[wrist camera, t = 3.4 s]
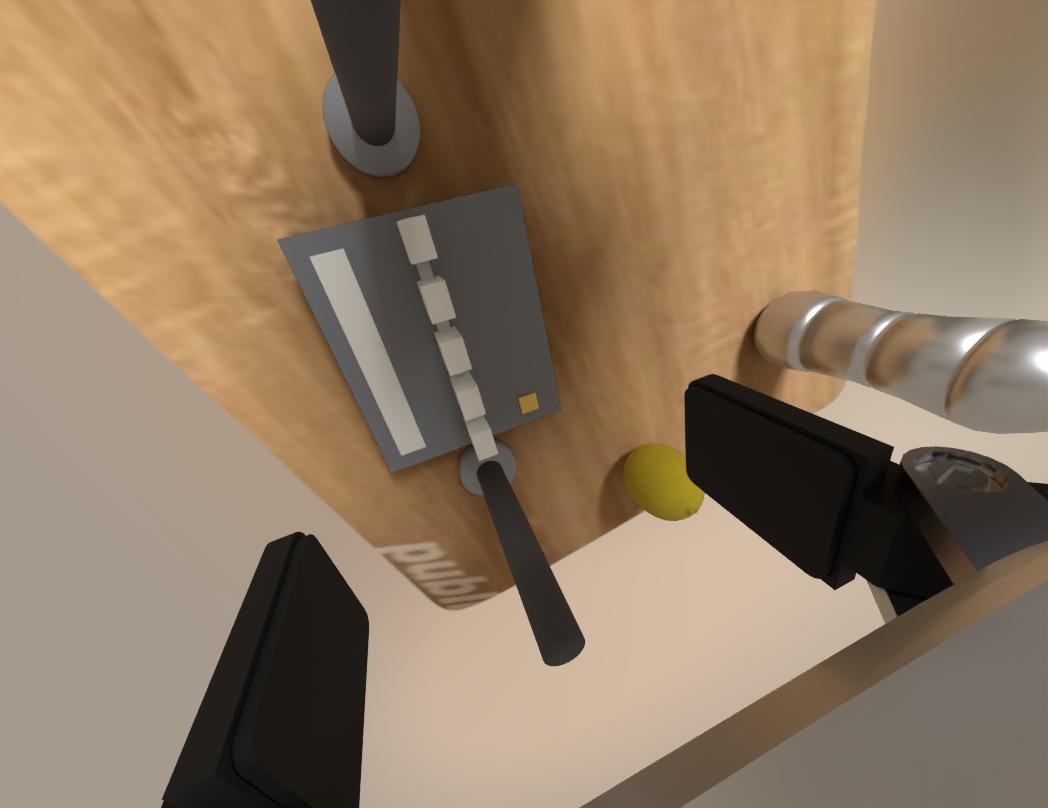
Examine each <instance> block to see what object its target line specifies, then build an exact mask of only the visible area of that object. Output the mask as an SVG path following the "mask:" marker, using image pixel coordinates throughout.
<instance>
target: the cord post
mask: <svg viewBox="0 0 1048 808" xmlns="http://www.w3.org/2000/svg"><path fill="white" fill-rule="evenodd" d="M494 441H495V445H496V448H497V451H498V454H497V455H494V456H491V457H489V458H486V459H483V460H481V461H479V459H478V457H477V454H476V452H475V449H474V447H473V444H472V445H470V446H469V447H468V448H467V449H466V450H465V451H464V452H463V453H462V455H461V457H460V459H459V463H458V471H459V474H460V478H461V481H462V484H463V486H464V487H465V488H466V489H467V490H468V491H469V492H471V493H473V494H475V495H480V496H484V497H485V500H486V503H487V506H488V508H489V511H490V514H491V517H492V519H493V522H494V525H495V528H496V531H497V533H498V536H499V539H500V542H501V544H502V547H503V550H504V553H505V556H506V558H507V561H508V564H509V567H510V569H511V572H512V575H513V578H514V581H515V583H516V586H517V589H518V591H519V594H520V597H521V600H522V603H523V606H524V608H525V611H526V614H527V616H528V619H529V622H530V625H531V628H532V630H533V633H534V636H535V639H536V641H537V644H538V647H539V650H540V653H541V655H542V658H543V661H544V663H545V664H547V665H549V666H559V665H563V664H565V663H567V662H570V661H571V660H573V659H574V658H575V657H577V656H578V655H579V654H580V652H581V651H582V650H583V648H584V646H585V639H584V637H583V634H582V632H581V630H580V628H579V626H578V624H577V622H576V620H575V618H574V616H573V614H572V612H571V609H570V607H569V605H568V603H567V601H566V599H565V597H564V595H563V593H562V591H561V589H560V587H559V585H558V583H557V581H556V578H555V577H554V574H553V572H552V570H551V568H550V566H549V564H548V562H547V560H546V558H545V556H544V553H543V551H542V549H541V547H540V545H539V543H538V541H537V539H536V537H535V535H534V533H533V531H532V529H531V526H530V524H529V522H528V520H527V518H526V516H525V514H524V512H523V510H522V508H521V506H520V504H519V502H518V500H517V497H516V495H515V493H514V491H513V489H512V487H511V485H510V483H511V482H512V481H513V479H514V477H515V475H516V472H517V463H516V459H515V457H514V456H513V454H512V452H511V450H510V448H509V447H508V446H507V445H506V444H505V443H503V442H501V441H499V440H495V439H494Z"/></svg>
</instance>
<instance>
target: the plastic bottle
mask: <svg viewBox="0 0 1048 808" xmlns="http://www.w3.org/2000/svg"><path fill="white" fill-rule="evenodd" d="M754 343H755V346H756V348H757V350H758V352H759V353H760V355H761V356H762V357H763V358H764V359H766V360H768V361H770V362H771V363H773V364H775V365H777V366H779V367H782V368H787V369H792V370H797V371H806V372H815V373H819V374H823V375H827V376H832V377H836V378H840V379H844V380H849V381H853V382H856V383H859V384H862V385H865V386H868V387H872V388H874V389H876V390H878V391H881V392H884V393H887V394H889V395H892V396H895V397H898V398H901V399H903V400H905V401H907V402H909V403H911V404H914V405H916V406H918V407H920V408H922V409H925V410H927V411H929V412H931V413H934V414H936V415H938V416H940V417H942V418H945V419H947V420H950V421H951V422H954V423H956V424H959V425H962V426H964V427H967V428H969V429H972V430H975V431H982V432H989V433H997V434H1007V433H1035V432H1046V431H1048V321H1039V320H1027V319H1019V320H1016V319H1004V318H975V317H947V316H939V315H929V314H914V313H909V312H900V311H892V310H888V309H883V308H879V307H874V306H869V305H865V304H861V303H856V302H852V301H848V300H846V299H844V298H841V297H838V296H835V295H832V294H828V293H824V292H820V291H796V292H791V293H788V294H786V295H784V296H782V297H780V298H778V299H776V300H774V301H773V302H772V303H771V304H769V305H768V306H767V307H766V309H765V310H764V311H763V313H762V314H761V316H760V317H759V319H758V321H757V324H756V327H755V331H754Z"/></svg>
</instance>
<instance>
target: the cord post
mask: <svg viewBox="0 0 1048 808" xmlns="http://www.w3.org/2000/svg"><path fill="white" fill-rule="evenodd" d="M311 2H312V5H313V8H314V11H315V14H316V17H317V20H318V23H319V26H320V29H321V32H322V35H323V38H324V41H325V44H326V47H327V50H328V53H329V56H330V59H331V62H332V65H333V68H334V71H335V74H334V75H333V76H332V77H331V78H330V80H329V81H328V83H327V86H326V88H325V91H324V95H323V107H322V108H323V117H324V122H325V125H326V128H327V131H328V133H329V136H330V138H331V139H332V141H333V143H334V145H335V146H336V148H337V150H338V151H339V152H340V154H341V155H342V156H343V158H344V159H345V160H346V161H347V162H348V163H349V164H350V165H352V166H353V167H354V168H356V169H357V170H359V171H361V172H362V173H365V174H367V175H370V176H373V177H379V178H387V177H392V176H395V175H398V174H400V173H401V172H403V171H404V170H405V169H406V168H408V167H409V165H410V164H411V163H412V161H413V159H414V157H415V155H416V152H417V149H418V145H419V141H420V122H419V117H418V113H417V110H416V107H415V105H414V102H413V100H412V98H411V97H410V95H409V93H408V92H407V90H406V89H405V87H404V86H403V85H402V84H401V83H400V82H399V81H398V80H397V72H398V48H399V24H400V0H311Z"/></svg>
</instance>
